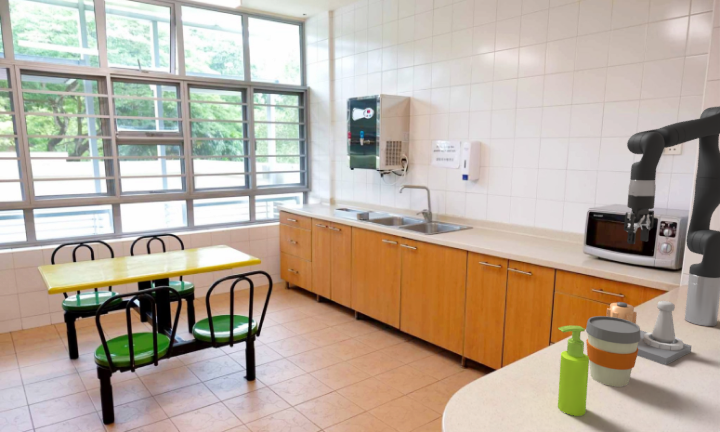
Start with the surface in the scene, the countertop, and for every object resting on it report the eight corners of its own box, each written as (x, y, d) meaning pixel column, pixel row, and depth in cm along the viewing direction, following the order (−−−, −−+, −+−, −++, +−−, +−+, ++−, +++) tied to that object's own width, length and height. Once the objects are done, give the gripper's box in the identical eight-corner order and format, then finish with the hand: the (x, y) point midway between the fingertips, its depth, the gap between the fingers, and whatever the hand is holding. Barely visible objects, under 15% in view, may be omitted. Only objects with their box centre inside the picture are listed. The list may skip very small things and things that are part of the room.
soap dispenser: (548, 402, 109) (553, 322, 106) (576, 401, 109) (581, 321, 107) (561, 416, 103) (566, 332, 100) (590, 415, 104) (596, 331, 101)
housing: (619, 329, 155) (622, 293, 153) (690, 352, 137) (694, 311, 135) (593, 340, 146) (596, 301, 144) (665, 365, 128) (669, 321, 127)
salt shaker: (667, 339, 141) (671, 299, 139) (678, 347, 136) (682, 305, 134) (647, 339, 142) (651, 298, 140) (657, 346, 136) (661, 304, 134)
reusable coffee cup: (608, 393, 113) (612, 335, 111) (572, 370, 125) (575, 318, 123) (648, 386, 117) (653, 330, 115) (609, 365, 129) (613, 313, 127)
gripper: (640, 192, 156) (636, 238, 159) (618, 194, 149) (614, 242, 151) (664, 193, 150) (660, 242, 152) (642, 195, 143) (638, 246, 145)
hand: (637, 242), depth 152 cm, fingers open, 8 cm apart
